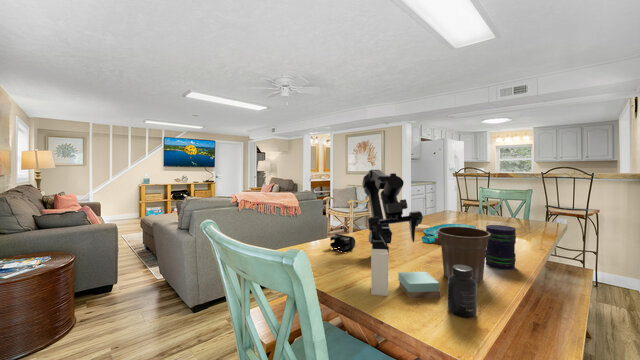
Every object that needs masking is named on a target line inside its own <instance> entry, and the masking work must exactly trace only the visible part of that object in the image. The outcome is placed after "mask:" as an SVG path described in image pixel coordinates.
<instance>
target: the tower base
mask: <svg viewBox="0 0 640 360" xmlns="http://www.w3.org/2000/svg"><path fill="white" fill-rule="evenodd" d="M398 281H399V280H398ZM398 284H399V285H398V286H399V287H400V289H401V290H402V291H403V293H405V294H406V295H407V297H408V298H409V299H410V300H417V299H419V300H420V299H421V300H422V299H440V298H441V290H439V291H432V292H409V291H408V290H407V289H406V288H405V287H404V286H403V285H402V284H401V282H400V281H399V282H398Z"/></svg>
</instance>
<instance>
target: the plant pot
mask: <svg viewBox="0 0 640 360" xmlns="http://www.w3.org/2000/svg"><path fill="white" fill-rule="evenodd" d="M436 232H437V234H438V233H439V237H440V242H441V244H440V246H441V259H442V269H443V270H442V271H443V275H444V277H445V278H447V279H448V278H449V277H450V276H451V275H453V274H452V266H453V265H466V266H469V267H471V268H472V269H473V277H472V278H474V279H475V280H476V282H477V284H480V283H482V282H483V280H484V273H485V265H486V258H485V255H486V247H487V246H488V239H489V237H490V233H489V232H487V231H486V230H484V229H479V228H473V227H467V226H444V227H439V228H437V231H436Z"/></svg>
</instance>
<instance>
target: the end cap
mask: <svg viewBox="0 0 640 360" xmlns="http://www.w3.org/2000/svg"><path fill="white" fill-rule="evenodd" d="M329 240H330V241H332V242H330V245H329V247H330V248H333V249H334V248H337V249H335V250H339V251H342V252H341V253H343V252H347V253H349V252H348V251H350V252H352V251H353V250H354V249H355V247H356V239H355V237H354V236H351V235H345V234H339V233H335V234H334V235H333V236H330V239H329ZM338 247H340V248H338ZM335 250H334V251H335ZM351 250H352V251H351ZM339 251H338V252H339Z"/></svg>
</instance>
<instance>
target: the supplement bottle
mask: <svg viewBox="0 0 640 360" xmlns="http://www.w3.org/2000/svg"><path fill="white" fill-rule="evenodd" d="M452 274H453V275H451V276H450V277H449V278H447V310H448V312H449V313H450V314H452V315H453V316H455V317H458V318H461V319H472V318H475V317H476V316H477V313H478V312H477V309H478V283H477V282H476V280H475V279H474V278H472V277H473V269H472V268H471V267H469V266H466V265H453V266H452Z"/></svg>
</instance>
